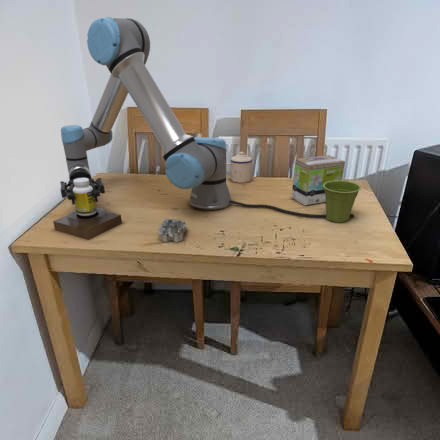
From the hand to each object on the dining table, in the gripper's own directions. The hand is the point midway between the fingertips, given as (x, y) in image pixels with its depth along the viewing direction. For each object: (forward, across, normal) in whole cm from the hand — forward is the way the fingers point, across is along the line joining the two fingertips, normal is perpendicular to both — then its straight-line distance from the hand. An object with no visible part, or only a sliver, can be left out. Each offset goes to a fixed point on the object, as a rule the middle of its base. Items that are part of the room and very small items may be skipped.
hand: (84, 199), depth 127 cm
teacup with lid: (-32, -64, -10) cm, 72 cm away
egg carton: (+14, -24, -10) cm, 30 cm away
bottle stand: (-2, 0, -10) cm, 10 cm away
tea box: (+1, -82, -10) cm, 82 cm away
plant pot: (+20, -79, -10) cm, 82 cm away
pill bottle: (-5, 0, -7) cm, 8 cm away
